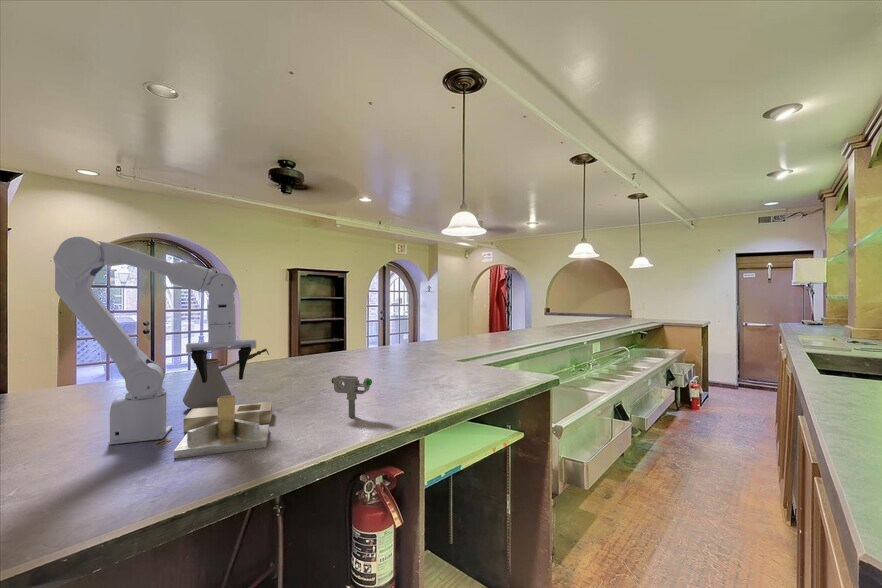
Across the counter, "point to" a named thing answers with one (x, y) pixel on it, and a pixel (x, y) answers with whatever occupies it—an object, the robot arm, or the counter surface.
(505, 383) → the counter surface
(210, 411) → the beam
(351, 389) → the mechanical component
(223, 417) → the axle
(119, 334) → the robot arm
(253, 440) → the v-block
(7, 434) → the counter surface
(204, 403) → the coffee pot
